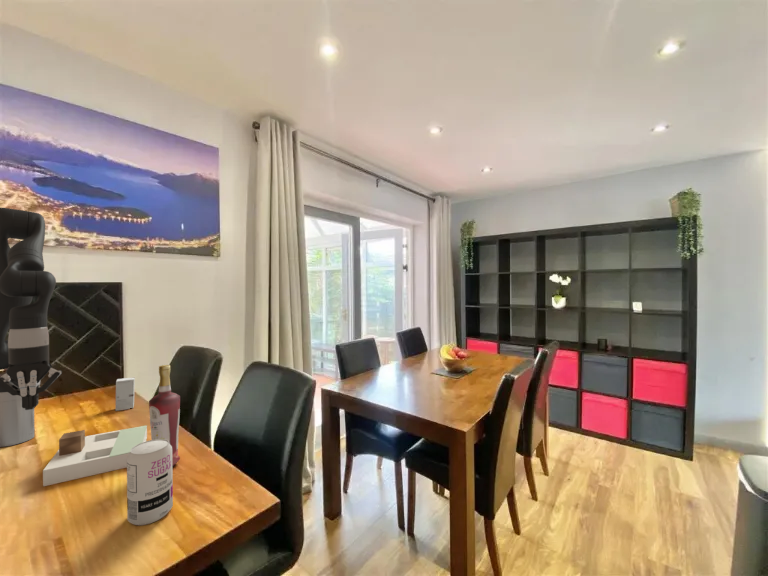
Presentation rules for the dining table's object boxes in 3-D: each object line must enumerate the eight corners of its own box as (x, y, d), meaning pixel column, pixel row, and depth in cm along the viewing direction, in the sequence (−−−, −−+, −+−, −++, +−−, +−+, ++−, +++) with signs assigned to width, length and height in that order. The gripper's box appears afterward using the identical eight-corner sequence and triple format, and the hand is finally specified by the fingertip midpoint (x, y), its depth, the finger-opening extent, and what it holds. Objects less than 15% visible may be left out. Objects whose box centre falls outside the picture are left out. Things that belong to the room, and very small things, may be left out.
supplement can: (142, 503, 77) (142, 438, 77) (180, 501, 78) (179, 437, 78) (117, 528, 69) (117, 456, 69) (159, 526, 70) (159, 454, 70)
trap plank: (43, 486, 84) (42, 470, 84) (66, 452, 101) (66, 439, 101) (140, 464, 95) (140, 450, 95) (146, 437, 112) (146, 425, 112)
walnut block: (59, 456, 92) (59, 439, 92) (64, 449, 95) (63, 433, 95) (81, 451, 94) (80, 435, 94) (84, 445, 98) (84, 429, 98)
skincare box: (115, 411, 135) (114, 381, 135) (116, 408, 139) (116, 379, 139) (134, 408, 139) (133, 379, 139) (135, 405, 143) (134, 376, 143)
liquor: (186, 461, 96) (186, 364, 96) (162, 475, 89) (161, 370, 89) (168, 457, 98) (167, 362, 98) (143, 470, 91) (142, 368, 91)
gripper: (66, 340, 97) (67, 400, 97) (0, 345, 90) (1, 409, 90) (58, 344, 90) (59, 408, 90) (-14, 349, 84) (-13, 418, 84)
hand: (30, 408), depth 90 cm, fingers closed
